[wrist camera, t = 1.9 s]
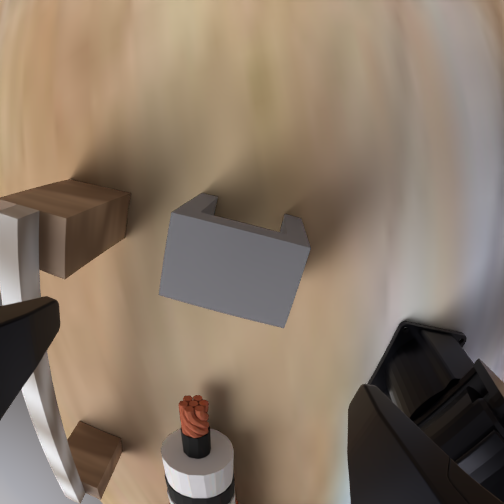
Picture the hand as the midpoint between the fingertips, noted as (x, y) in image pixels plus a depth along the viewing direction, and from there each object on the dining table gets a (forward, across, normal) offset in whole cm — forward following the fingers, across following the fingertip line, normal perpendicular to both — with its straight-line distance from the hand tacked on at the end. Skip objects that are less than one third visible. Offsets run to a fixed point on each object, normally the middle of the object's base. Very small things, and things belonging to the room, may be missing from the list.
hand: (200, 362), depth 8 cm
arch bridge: (+12, +10, +13) cm, 20 cm away
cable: (+12, -3, +29) cm, 31 cm away
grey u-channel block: (+12, 0, 0) cm, 12 cm away
